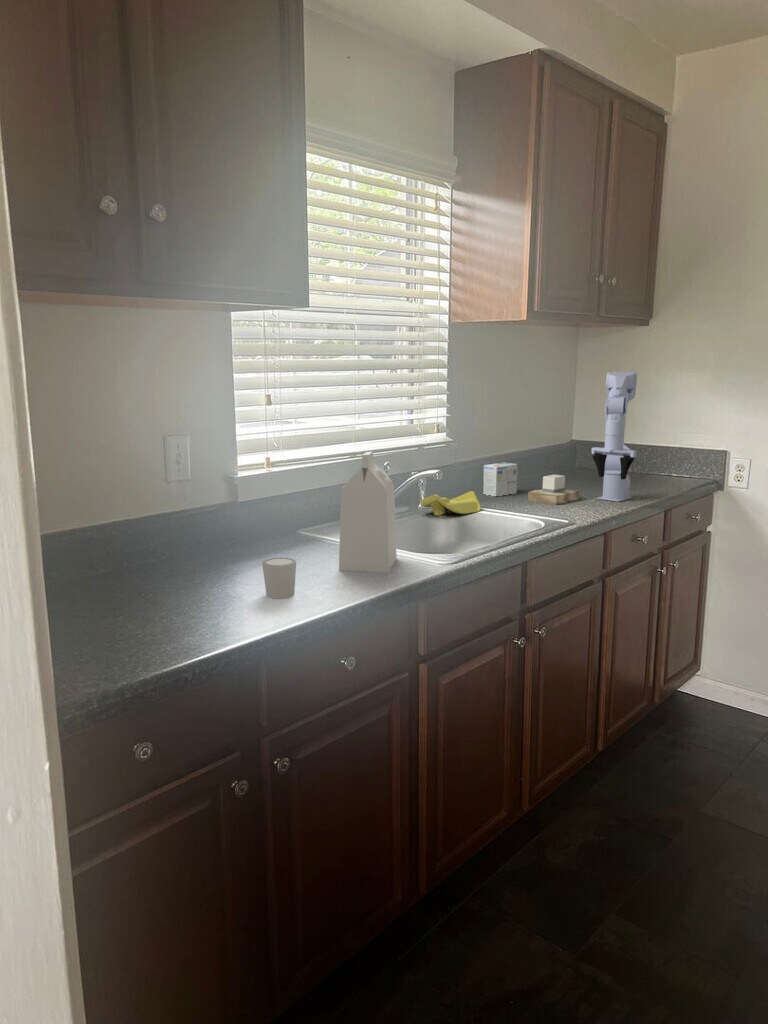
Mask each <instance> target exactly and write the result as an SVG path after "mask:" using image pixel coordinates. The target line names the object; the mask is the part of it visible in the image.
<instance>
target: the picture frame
mask: <svg viewBox="0 0 768 1024" xmlns="http://www.w3.org/2000/svg"><path fill="white" fill-rule="evenodd" d="M579 499H580V490H577V489H571V488H565V491H560V492H556V493H550V492H543V491H542V488H541V489H536V490H535V489H534V490H530V491H528V492H527V501H528V502H535V503H540V504H547V505H548V504H549V505H555V506H557V505H562V504H566V503H570V502H574V501H578V500H579Z"/></svg>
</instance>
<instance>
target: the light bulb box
mask: <svg viewBox="0 0 768 1024" xmlns="http://www.w3.org/2000/svg"><path fill="white" fill-rule="evenodd" d="M517 485H518V464H517V463H511V462H505V461H504V462H498V463H491V464H489V463H488V464H484V465H483V488H482V490H483V494H486V495H485V496H488V495H491V496H490V497H493V496H498V497H504V496H503V495H505V496H509V494H511V495H516V494H517V491H518V490H517V489H518V487H517Z"/></svg>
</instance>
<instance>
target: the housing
mask: <svg viewBox="0 0 768 1024" xmlns="http://www.w3.org/2000/svg"><path fill="white" fill-rule="evenodd" d="M565 485H566V475H560V474H551V475H550V474H548V475H545V476H543V477H542V488H541V489H542V491H543V492H550V493H556V492H560V491H565V489H566V486H565Z"/></svg>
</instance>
